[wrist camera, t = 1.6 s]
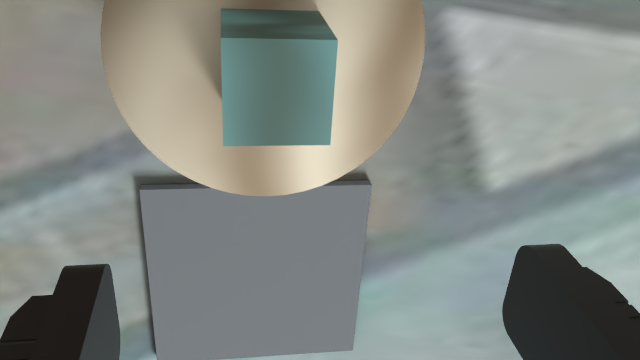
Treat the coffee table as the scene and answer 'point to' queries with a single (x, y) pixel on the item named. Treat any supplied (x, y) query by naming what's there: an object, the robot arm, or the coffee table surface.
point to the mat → (253, 269)
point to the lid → (263, 85)
